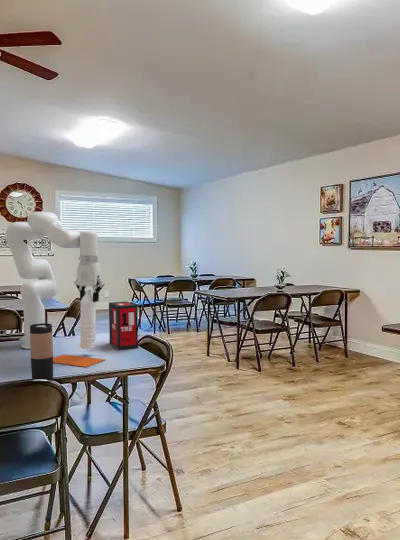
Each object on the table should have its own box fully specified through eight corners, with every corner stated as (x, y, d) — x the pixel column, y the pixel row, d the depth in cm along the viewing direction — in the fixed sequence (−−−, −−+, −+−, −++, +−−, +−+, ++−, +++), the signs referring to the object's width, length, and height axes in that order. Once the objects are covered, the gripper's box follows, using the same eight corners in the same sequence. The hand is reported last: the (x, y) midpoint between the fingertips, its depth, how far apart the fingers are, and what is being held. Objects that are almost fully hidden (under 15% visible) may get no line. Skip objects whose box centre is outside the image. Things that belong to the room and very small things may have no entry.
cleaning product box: (109, 343, 228) (108, 302, 227) (127, 341, 232) (126, 301, 231) (119, 350, 213) (118, 306, 212) (137, 348, 217) (137, 305, 216)
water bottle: (82, 349, 199) (82, 291, 198) (78, 346, 205) (78, 289, 203) (102, 347, 204) (102, 290, 202) (97, 344, 209) (98, 289, 208)
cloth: (43, 361, 194) (43, 360, 194) (64, 355, 205) (64, 354, 205) (85, 367, 184) (85, 366, 184) (104, 360, 195) (104, 359, 195)
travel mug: (34, 377, 171) (32, 323, 170) (55, 376, 172) (54, 323, 171) (28, 383, 164) (26, 327, 162) (51, 383, 164) (49, 326, 163)
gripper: (67, 259, 202) (68, 300, 204) (99, 260, 195) (99, 303, 196) (79, 258, 209) (79, 298, 210) (110, 260, 201) (110, 301, 203)
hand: (89, 300), depth 203 cm, fingers closed on water bottle, 6 cm apart
